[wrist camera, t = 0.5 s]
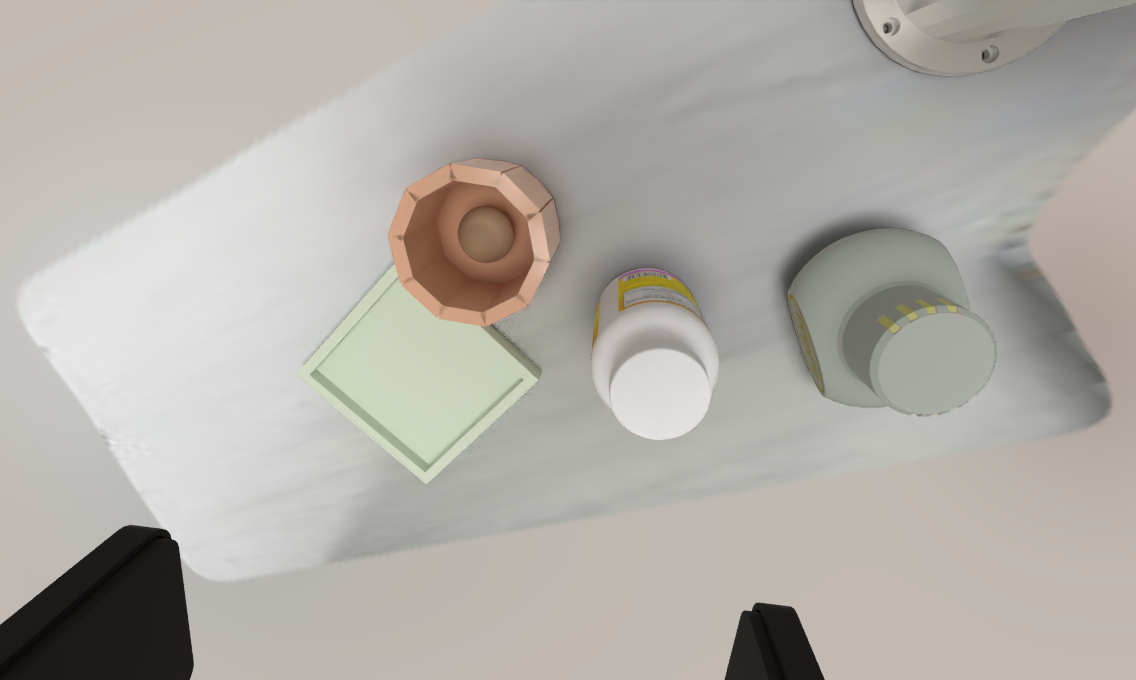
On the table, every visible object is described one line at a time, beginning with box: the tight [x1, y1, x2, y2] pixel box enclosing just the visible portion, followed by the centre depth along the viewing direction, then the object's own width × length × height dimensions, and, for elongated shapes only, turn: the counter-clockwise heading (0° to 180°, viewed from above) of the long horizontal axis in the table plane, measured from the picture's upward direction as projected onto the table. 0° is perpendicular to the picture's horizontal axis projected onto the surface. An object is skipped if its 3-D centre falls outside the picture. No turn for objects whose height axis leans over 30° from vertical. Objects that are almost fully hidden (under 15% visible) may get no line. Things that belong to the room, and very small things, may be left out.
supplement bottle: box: [591, 268, 720, 440], centre depth 33 cm, size 7×7×13 cm
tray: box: [296, 263, 541, 484], centre depth 41 cm, size 12×12×2 cm
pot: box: [388, 158, 561, 327], centre depth 35 cm, size 8×9×7 cm
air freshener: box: [787, 228, 997, 416], centre depth 33 cm, size 11×8×10 cm
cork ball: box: [458, 206, 514, 263], centre depth 36 cm, size 3×3×3 cm
